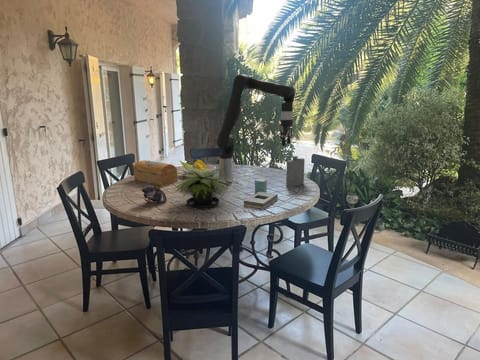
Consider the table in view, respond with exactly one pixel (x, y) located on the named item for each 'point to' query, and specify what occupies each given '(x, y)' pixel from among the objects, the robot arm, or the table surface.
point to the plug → (260, 185)
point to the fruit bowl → (198, 167)
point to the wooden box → (155, 172)
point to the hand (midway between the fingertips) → (286, 144)
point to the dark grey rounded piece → (153, 193)
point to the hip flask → (295, 172)
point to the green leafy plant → (192, 173)
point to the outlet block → (260, 200)
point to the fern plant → (202, 189)
